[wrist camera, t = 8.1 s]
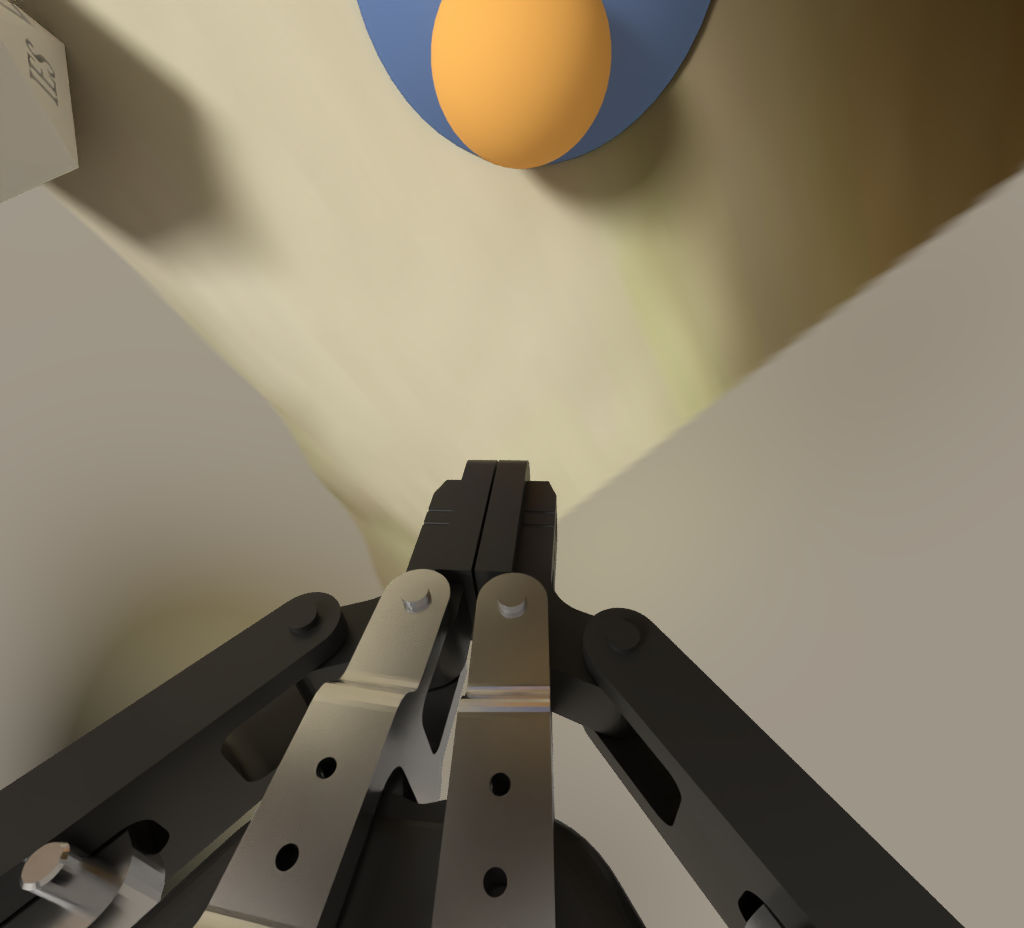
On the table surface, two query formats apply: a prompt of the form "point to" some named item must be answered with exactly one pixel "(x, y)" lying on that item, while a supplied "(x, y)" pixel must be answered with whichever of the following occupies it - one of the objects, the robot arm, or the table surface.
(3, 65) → the die
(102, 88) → the table surface
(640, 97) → the blue plate
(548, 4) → the ball
